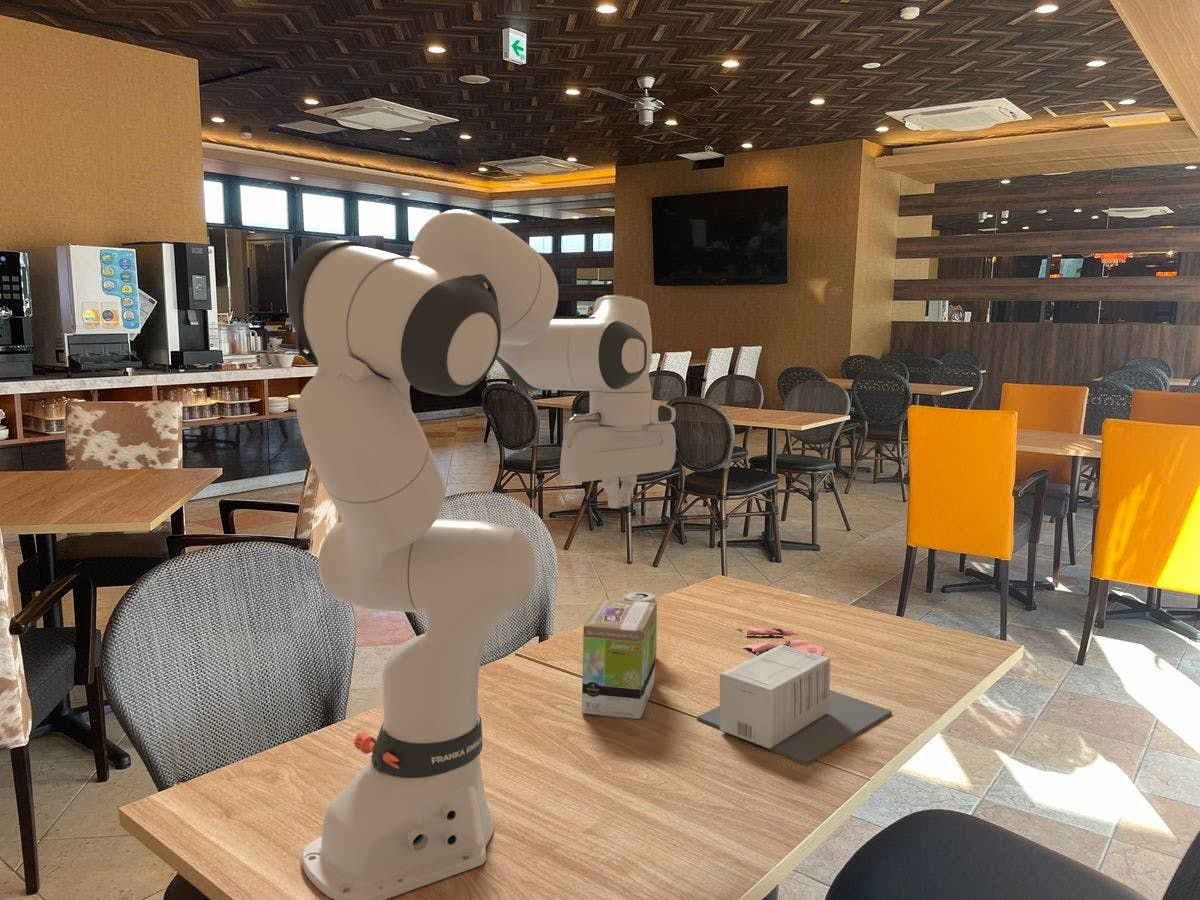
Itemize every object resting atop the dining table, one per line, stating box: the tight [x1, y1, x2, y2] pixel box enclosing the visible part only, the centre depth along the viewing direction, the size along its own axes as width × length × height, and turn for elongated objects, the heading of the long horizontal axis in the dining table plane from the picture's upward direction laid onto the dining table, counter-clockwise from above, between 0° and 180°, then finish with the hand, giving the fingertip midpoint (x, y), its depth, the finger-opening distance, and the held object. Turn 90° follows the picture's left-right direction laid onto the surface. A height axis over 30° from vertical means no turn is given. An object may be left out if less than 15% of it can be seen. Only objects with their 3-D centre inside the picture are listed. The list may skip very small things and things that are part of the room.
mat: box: [696, 689, 893, 766], centre depth 140 cm, size 24×20×1 cm
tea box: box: [581, 598, 658, 720], centre depth 146 cm, size 15×10×15 cm
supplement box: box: [719, 644, 831, 749], centre depth 137 cm, size 10×9×17 cm
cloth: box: [739, 626, 825, 656], centre depth 174 cm, size 20×22×2 cm
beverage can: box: [623, 591, 658, 652], centre depth 164 cm, size 6×6×12 cm
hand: (619, 506), depth 129 cm, fingers closed
